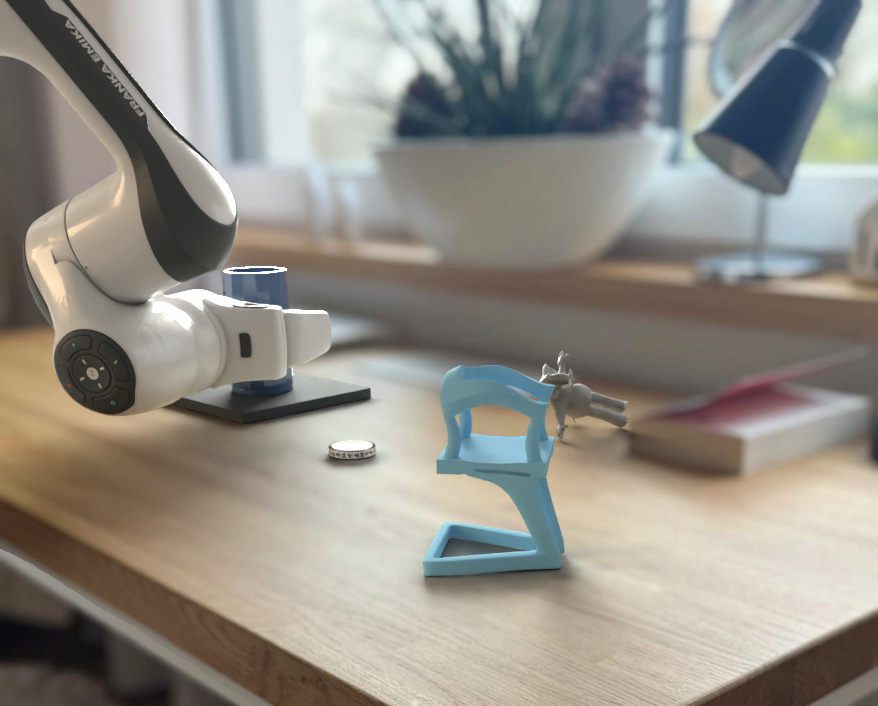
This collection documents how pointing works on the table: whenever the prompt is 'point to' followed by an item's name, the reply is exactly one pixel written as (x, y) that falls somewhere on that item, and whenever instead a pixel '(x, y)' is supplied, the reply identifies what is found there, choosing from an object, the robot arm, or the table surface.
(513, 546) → the chair
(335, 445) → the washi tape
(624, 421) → the grey figurine
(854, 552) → the table surface
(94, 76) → the robot arm
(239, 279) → the cup
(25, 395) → the table surface
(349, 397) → the mat
